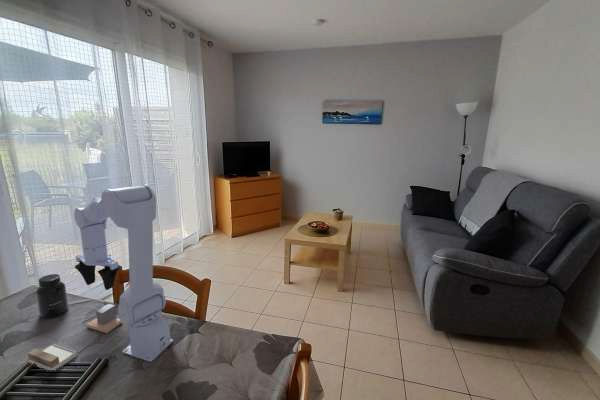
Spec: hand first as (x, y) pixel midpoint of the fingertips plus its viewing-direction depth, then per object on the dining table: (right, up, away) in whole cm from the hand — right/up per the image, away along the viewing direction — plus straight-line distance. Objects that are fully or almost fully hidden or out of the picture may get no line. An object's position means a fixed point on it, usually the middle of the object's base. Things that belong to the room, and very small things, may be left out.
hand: (100, 285), depth 86 cm
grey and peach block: (+4, -10, -3) cm, 12 cm away
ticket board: (0, -14, -16) cm, 21 cm away
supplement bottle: (-15, -9, +1) cm, 18 cm away
